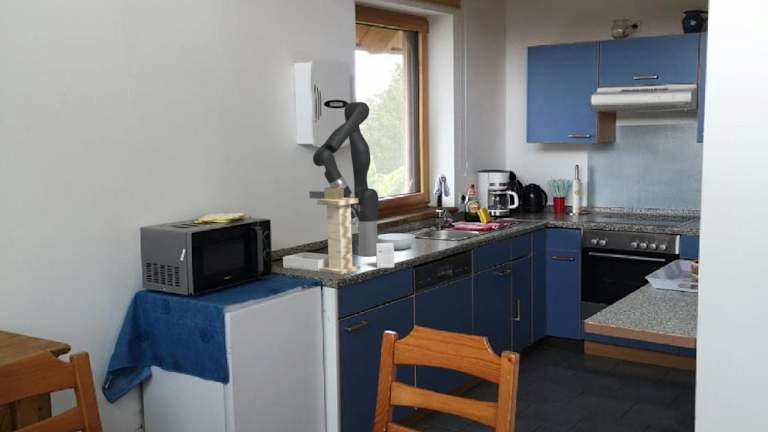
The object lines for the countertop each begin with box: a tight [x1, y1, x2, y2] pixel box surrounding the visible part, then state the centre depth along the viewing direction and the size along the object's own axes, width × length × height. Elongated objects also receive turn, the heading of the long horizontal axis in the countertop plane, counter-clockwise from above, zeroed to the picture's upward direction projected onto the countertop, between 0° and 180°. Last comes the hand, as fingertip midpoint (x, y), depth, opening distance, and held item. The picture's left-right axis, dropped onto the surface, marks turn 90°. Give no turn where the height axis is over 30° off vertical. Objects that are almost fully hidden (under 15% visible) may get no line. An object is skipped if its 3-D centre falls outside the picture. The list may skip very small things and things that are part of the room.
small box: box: [375, 243, 395, 269], centre depth 358 cm, size 8×6×10 cm
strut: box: [308, 186, 344, 200], centre depth 351 cm, size 6×16×5 cm, turn 54°
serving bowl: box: [377, 232, 416, 252], centre depth 408 cm, size 21×21×7 cm
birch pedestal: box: [316, 197, 361, 275], centre depth 349 cm, size 14×12×32 cm
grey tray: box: [282, 251, 329, 273], centre depth 361 cm, size 15×21×5 cm
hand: (357, 217), depth 372 cm, fingers open, 8 cm apart
